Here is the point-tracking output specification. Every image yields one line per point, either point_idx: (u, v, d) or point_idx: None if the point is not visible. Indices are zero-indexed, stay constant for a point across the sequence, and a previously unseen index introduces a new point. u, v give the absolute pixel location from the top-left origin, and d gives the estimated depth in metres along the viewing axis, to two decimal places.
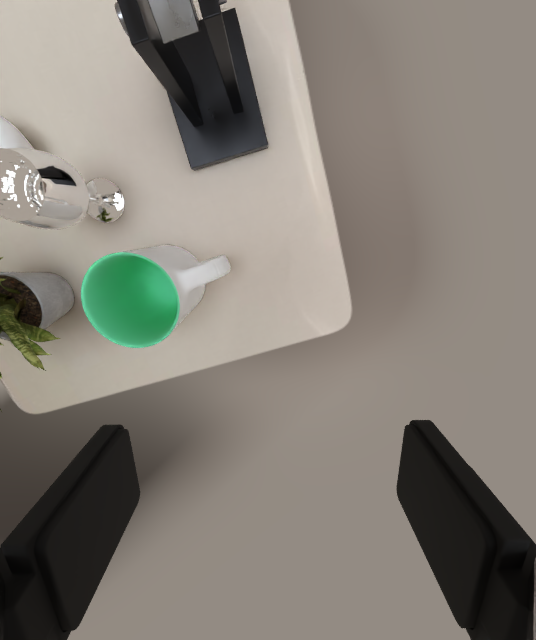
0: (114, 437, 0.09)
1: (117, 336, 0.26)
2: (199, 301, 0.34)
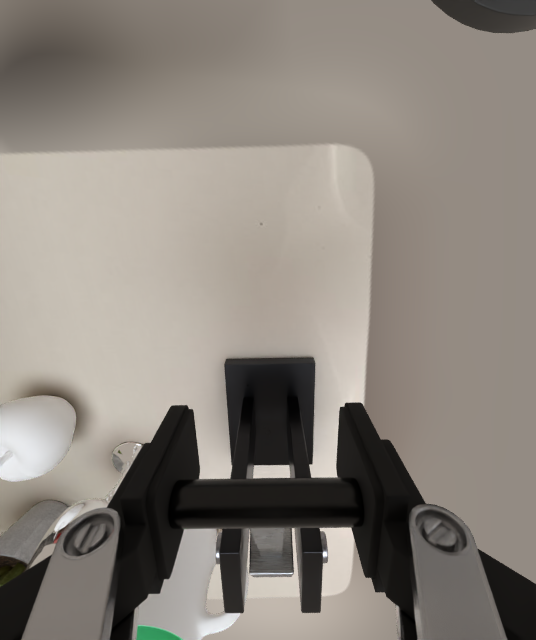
0: (185, 415, 0.10)
1: None
2: None
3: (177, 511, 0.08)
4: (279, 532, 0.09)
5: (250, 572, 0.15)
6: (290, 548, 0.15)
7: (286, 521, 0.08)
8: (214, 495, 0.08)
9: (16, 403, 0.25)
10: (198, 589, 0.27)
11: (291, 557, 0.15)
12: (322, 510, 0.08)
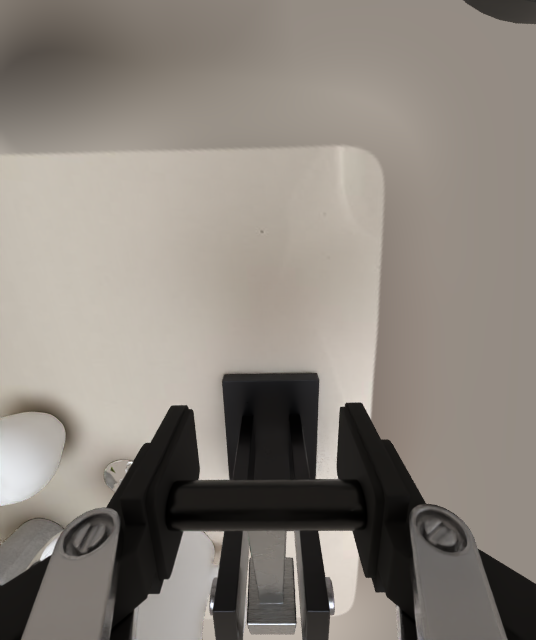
0: (184, 415, 0.10)
1: None
2: None
3: (175, 508, 0.08)
4: (279, 545, 0.09)
5: (248, 622, 0.13)
6: (292, 593, 0.14)
7: (286, 520, 0.08)
8: (213, 492, 0.08)
9: None
10: (194, 618, 0.25)
11: (293, 604, 0.14)
12: (323, 509, 0.08)
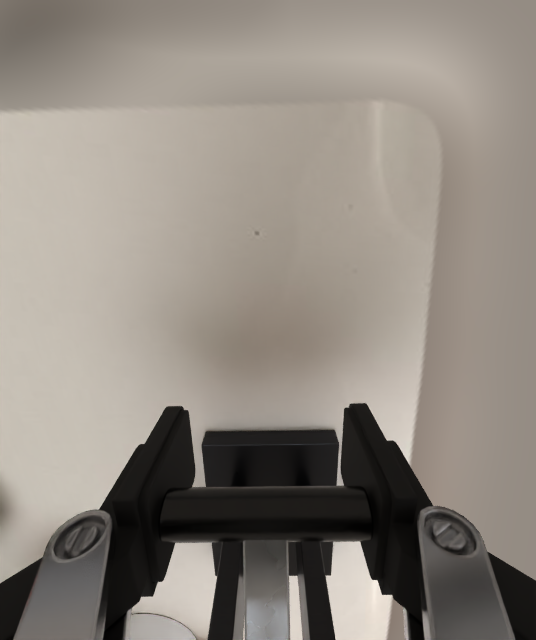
0: (179, 416, 0.10)
1: None
2: None
3: (171, 501, 0.07)
4: (281, 594, 0.07)
5: None
6: None
7: (287, 514, 0.07)
8: (212, 489, 0.08)
9: None
10: None
11: None
12: (326, 500, 0.07)
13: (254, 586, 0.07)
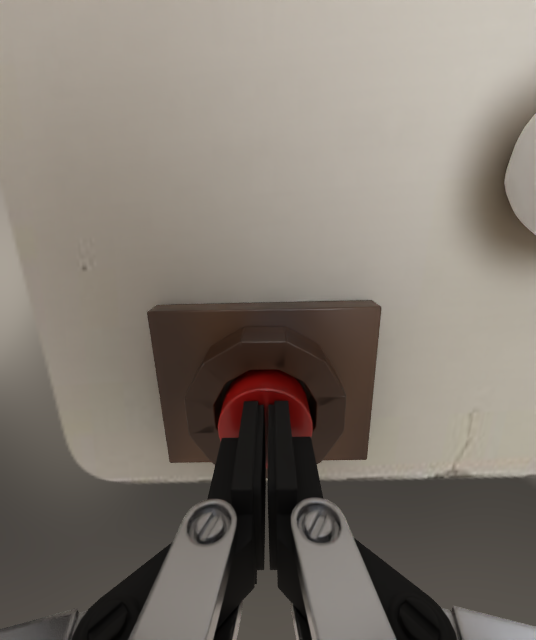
0: (260, 411, 0.10)
1: None
2: None
3: None
4: None
5: None
6: None
7: None
8: None
9: None
10: None
11: None
12: None
13: None
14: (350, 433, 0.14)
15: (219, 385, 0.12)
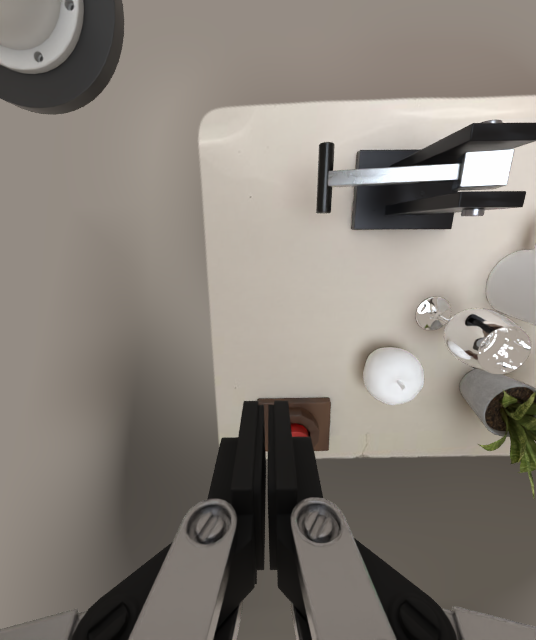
0: (260, 411, 0.10)
1: None
2: None
3: (317, 209, 0.25)
4: (345, 172, 0.23)
5: (459, 186, 0.21)
6: (461, 156, 0.21)
7: (320, 171, 0.24)
8: (317, 198, 0.25)
9: (364, 374, 0.36)
10: None
11: (462, 155, 0.21)
12: (319, 158, 0.24)
13: (342, 181, 0.24)
14: (322, 441, 0.42)
15: None
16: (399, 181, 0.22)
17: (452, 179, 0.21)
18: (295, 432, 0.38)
